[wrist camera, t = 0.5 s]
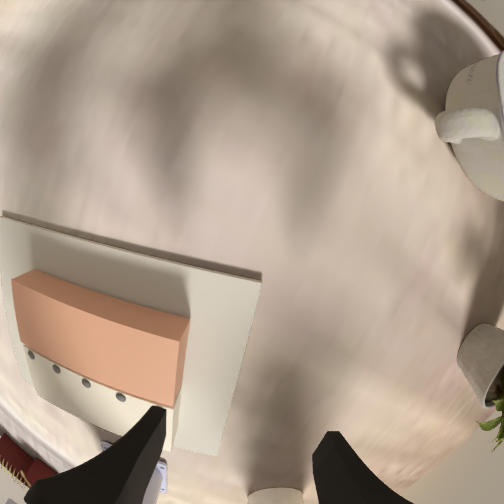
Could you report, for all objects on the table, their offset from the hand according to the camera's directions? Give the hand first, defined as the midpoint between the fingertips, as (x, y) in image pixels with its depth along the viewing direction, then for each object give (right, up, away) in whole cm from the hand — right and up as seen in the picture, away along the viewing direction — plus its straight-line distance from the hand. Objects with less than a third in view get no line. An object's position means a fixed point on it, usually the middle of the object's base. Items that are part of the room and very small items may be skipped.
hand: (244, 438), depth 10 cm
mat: (-13, 0, +9) cm, 16 cm away
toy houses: (-45, -40, +19) cm, 63 cm away
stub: (-11, +3, +8) cm, 14 cm away
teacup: (+17, +17, +5) cm, 25 cm away
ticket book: (-13, -3, +10) cm, 16 cm away
